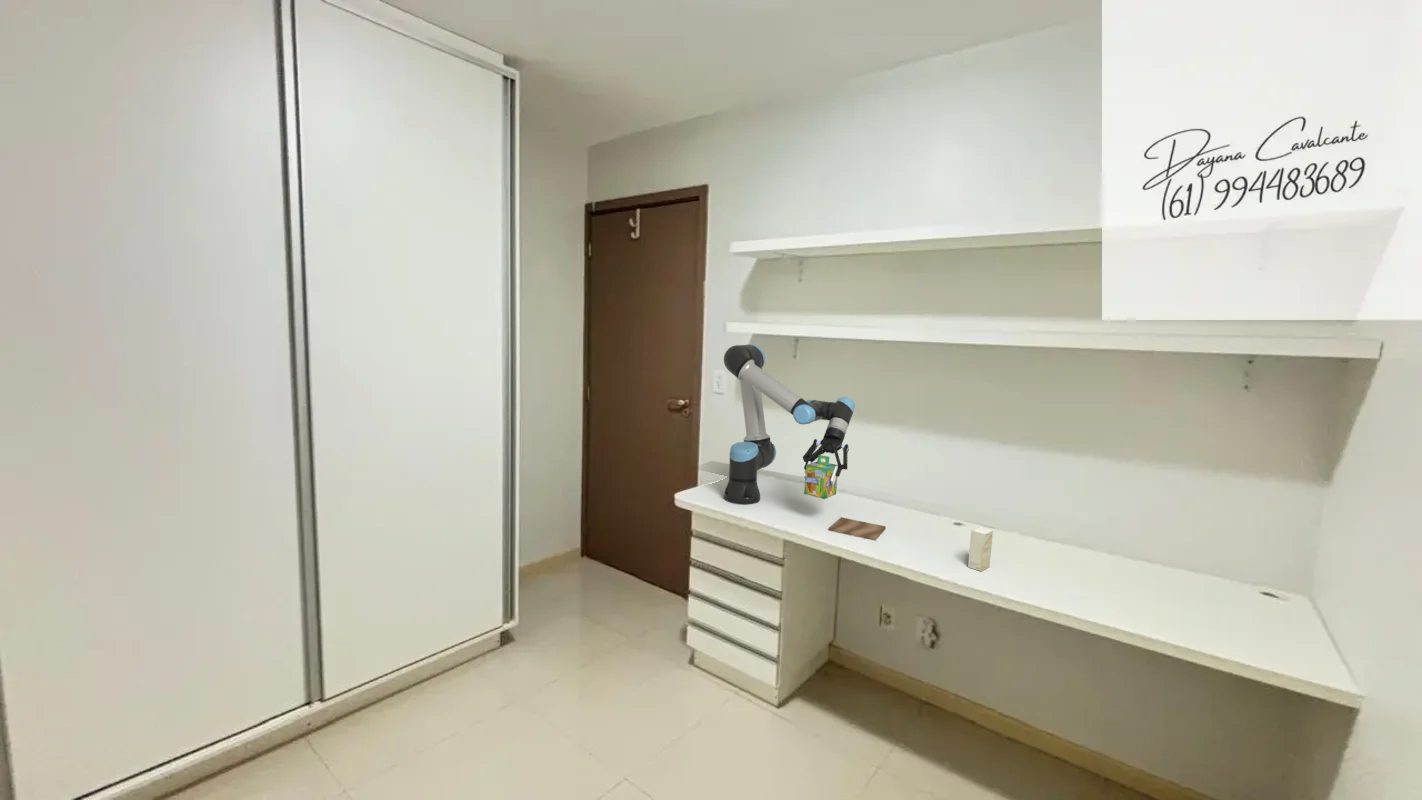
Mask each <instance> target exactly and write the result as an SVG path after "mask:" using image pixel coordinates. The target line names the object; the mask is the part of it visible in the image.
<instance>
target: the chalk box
mask: <svg viewBox="0 0 1422 800" xmlns="http://www.w3.org/2000/svg"><path fill="white" fill-rule="evenodd" d="M822 459H824V460H825V461H822ZM835 466H838V464H835V463H830V456H828V455H824V454H821V455H819V456H818V458H817V459H816V461H813V462H812V463H811V464H807V465H806V476H805V478H804V492H803V494H804V495H807V496H812V497H815V498H819V499H823V500H827V499H828V498H830V497H832V496H836V495H837V487H838V477H836V480H835V483H834V485H832V484H831V478H832V475H833V472H834V469H835Z"/></svg>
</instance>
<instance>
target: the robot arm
mask: <svg viewBox="0 0 1422 800" xmlns="http://www.w3.org/2000/svg"><path fill="white" fill-rule="evenodd" d="M765 363H766V356H765V353H764V351H763V350H762V348H760V347H759V346H757V345H755V344H740V345H738V344H736V345H733V346H730V347H729V348H727V350H725V353H724V356H723V364H724V366H725V368H726V369H727V370H728V372H729V373H731V374H732V375H733V376H735V378H736V379H737V380H739V383H740V390H741V391H740V392H741V393H740V394H741V400H742V408H743V418H744V424H745V432H746V433H745V434H746V435H745V437H744V438H743V441H739V442H736V443H734V444H732V445H731V447H730V450H729V451H730V452H729V471H728V475H729V477H728V482H727V485H726V487H725V490H724V496H723V498H724V500H725V501H726V502H729V503H732V504H737V505H738V504H739V505H751V504H756V503H759V502H760V501H761V493H760V489H759V485H758V482H757V480H758V471H759V470H761V469H764V468H767V467H769V466H770V465H771V464H772V463H773V462H774V461H775V459H776V454H777V450H776V446H775V445H774V443H773V442H772V441H771V436H770V435H769V434H768V433H767V432H766V431H767V430H766V422H765V414H764V413H765V412H764V403H763V397H762V396H763V395H764V396H766V397H767V398H769V399H770V400H771V401H773V402H774V403H776V404H777V406H778V405H779V406H780V407H781V408H782V409H784V410H785V411H786V412H788V413H789V414H791V415H792V416H793V419H794V421H795V422H796V423H797V424H798V425H809V424H811V423H814V422H817V421H821V420H823V421H828V424H827V427H826V430H825V432H824V434H823V438H822V439H821V440H818V439H817V438H815V439H813V443H812V444H811V445H810V447H809V448H808V449H807V451H806V452H805V454H803V456H802V459H803V462H804V463H805V464H804V467H803V469H804V473H803V475H802V476H803V478H804V479H805V476H806V465H807V464H811V463H814V462H815V461H817V460H818V456H819V455H824V454H825V453H827V454H828V453H829V454H832V455H833V454H834V456H835V460H836V463H837V464H836V465H838V466H835V469H834V472H833V475H832V478H831V484H832V485H834V483H835V480H836V477H837V478H839V477H840V475H841V473H842V470H848V453H849V450H850V448H849V444H847V443H846V444H843V443H844V440H845V435H846V434H847V430H848V428H849V426H850V422H851V420H852V417H853V415H854V411H855V406H856V404H855V401H854V400H852V399H851V398H849V397H846V396H842V397H838V399H837V400H836V401H825V400H823V401H822V400H817V399H807V400H805V399H804V398H802V396H800V395H798V394H797V393H795V392H794V391H793V390H791V389H790V388H789V387H788V386H786V385H784V384H783V383H781V382H780V381H779V380H777V379H776V378H775V377H773V376H772V375H770V374H769V373H767V372H766V371H764V370H763V367H764V365H765ZM762 394H763V395H762ZM817 448H818V449H817ZM841 449H842V451H843V453H842V455H843V456H842V457H843V458H842V460H843V461H842V463H841V460H840V457H839V452H838V451H840V450H841Z"/></svg>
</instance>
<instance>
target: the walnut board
mask: <svg viewBox="0 0 1422 800" xmlns="http://www.w3.org/2000/svg"><path fill="white" fill-rule="evenodd" d="M886 528H887V527H886V525H882V524H881V525H880V524H876V523H871V522H866V521H862V520H856V519H852V518H847V517H841V516H840V518H839V519H837V520H836V521H834V523H832V525H830V526H829V527H828V531H831V532H834V533H838V534H843V535H848V536H852V537H857V538H861V539H867V540H871V541H876V540H877V539H879V537H880V536H881V535H882V534H883V533H884V531H885V530H886Z"/></svg>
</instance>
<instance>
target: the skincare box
mask: <svg viewBox="0 0 1422 800" xmlns="http://www.w3.org/2000/svg"><path fill="white" fill-rule="evenodd" d="M970 531H971V532H970V542H969V553H968V562H967V563H968V565H967V568H970V569H972V570H976V571H979V572H983V571H984V570H987V569H989V568H990V566H991V565H990V564H991V557H992V556H991V555H992V546H993V544H992V543H993V536H994V535H993V534H994V533H993V532H994V529H993V530H992V529H991V528H990V529H989V528H985V527H982V526H978V527H976V528H974V529H971V530H970Z"/></svg>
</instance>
